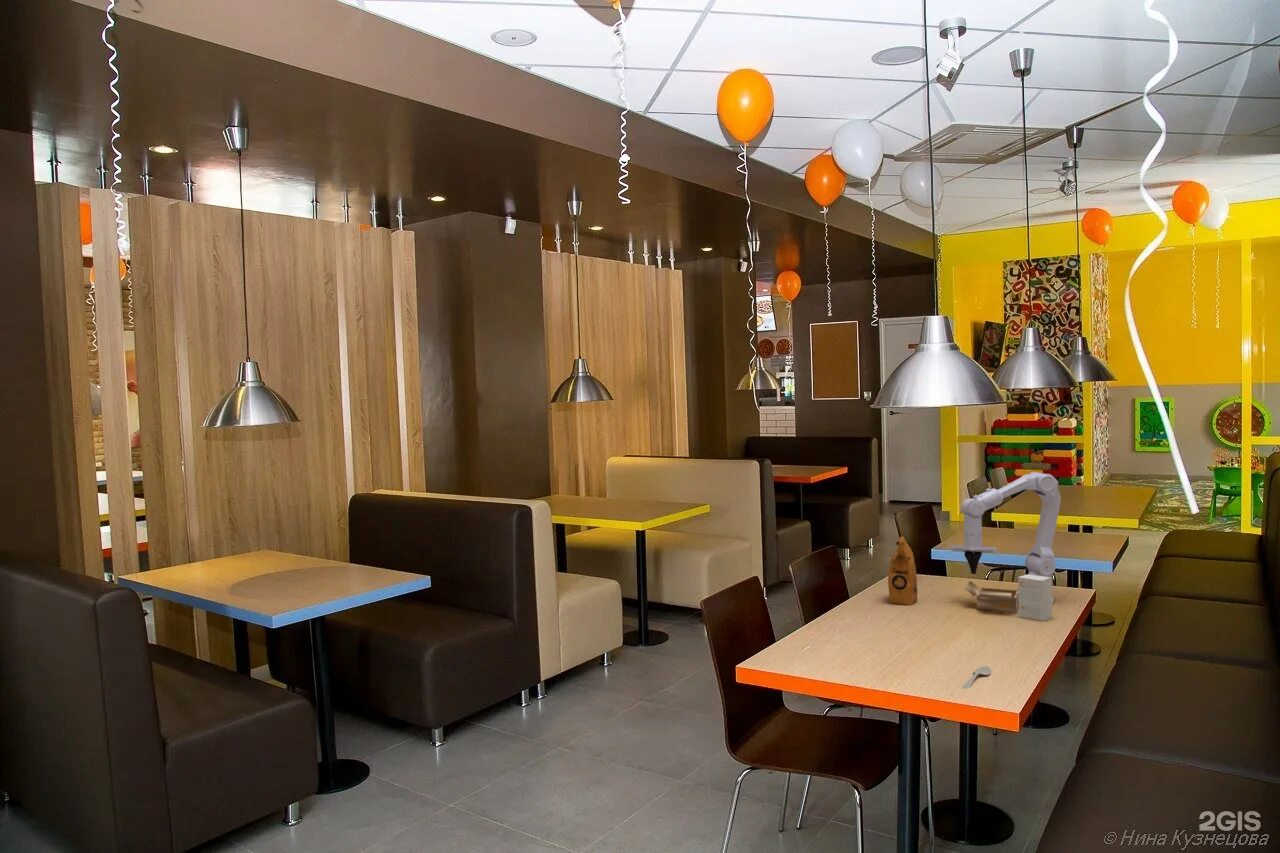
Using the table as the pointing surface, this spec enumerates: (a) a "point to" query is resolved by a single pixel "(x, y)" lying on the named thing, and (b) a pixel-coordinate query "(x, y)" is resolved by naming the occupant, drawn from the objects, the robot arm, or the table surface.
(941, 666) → the table surface
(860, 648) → the table surface
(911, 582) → the coffee package
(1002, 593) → the front flap
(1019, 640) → the table surface
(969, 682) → the spoon
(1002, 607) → the carton
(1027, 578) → the small box
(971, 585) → the side flap
